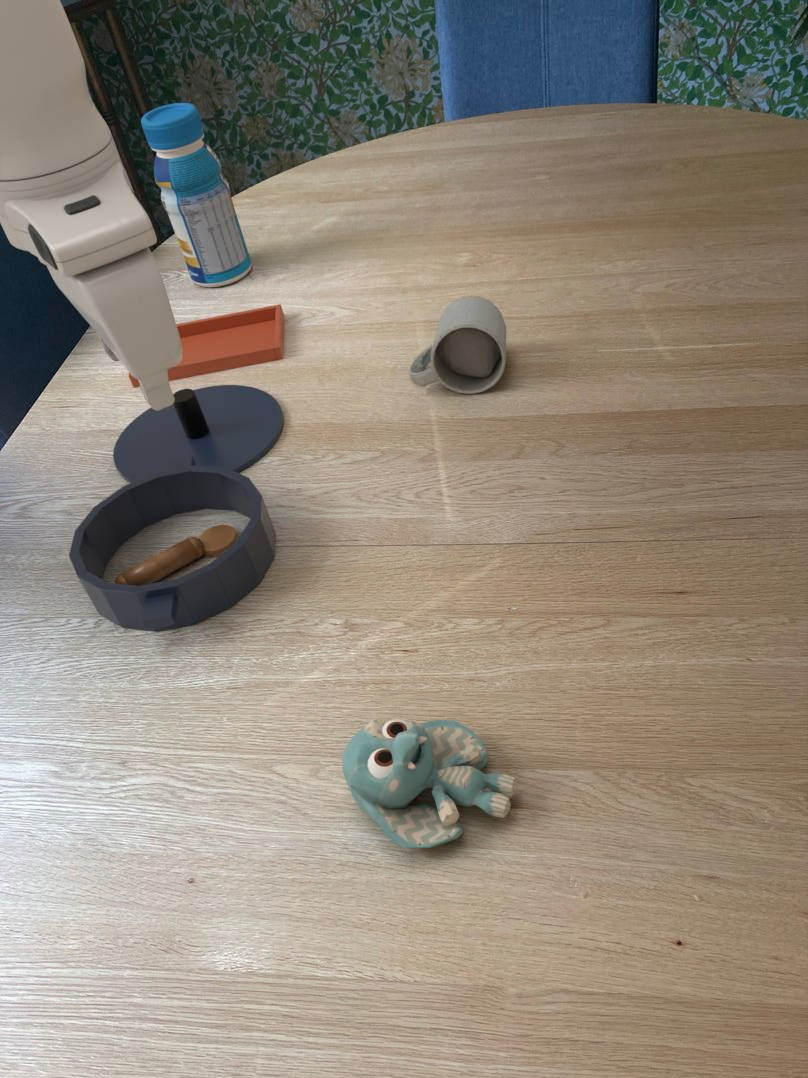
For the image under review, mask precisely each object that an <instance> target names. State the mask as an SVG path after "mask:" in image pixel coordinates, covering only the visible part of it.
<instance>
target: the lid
mask: <svg viewBox="0 0 808 1078" xmlns="http://www.w3.org/2000/svg"><path fill="white" fill-rule="evenodd" d="M173 395H174V398H175V401H174V403H173V404H172V405H171V406H168V407H166V408H164V409H161V410H159V411H156V410H154V409H152V408H151V407H149V408H148V409H146V410H144V411H143V412H142V413H141V414H139V415H137V417H135V418H134V419H133V420H132V421H131V422H129V424H128V425H127V426H126V427H125V428H124V429H123V431H122V432H121V433H120V435H119V436H118V438H117V440H116V441H115V444H114V447H113V453H112V454H113V455H112V458H113V463H114V465H115V466H114V467H115V469H116V470H117V472H118V473H119V475H120V476H121V477H122V478H123V479H124V480H126V482H128V483H129V484H130V483H133V482H135V481H137V480H140V479H142V478H144V477H147V476H149V475H152V474H154V473H156V472H161V471H166V469H167V463H168V460H172V459H177V458H183V457H188V456H193V458H194V461H195V463H196V466H213V467H225V468H227V469H230V470H232V471H234V472H237V473H239V474H240V473H241V472H242V471H244V470H246V469H247V468H249V467H251V466H253V464H256V462H258V461H259V460H261V458H263V457H264V456H265V455H267V453H268V452H270V450H271V449H272V448H273V446H274V445H275V444H276V442H277V441H278V440H279V438H280V436H281V434H282V431H283V429H284V424H285V423H284V422H285V419H284V413H283V409H282V407H281V405H280V403H279V402H278V400H277V399H276V398H275V397H273V395H272V394H269V393H268V392H267V391H264V390H263V389H260V388H258V387H257V388H256V387H253V386H247V385H242V384H241V385H239V384H219V385H211V386H205V387H200V388H195V389H191V388H183V389H179V390H177V391H175V392H174V393H173Z"/></svg>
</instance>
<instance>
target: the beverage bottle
mask: <svg viewBox="0 0 808 1078" xmlns="http://www.w3.org/2000/svg"><path fill="white" fill-rule="evenodd" d="M197 109H198V108H197V107H196V106H195V105H194V104H193V103H189V102H176V103H170V104H165V105H162V106H159V107H155V108H154V109H152V110H150V111H148V112H146V113H145V114H143V116H141V118H140V119H141V120H140V122H141V127H142V130H143V133H144V136H145V138H146V142H147V143H148V147H150V149H151V150H152V151H153V152H156V154H155V159H154V164H153V176H154V177H153V178H154V182H155V183H156V185H157V187H159V188H160V190H161V192H160V200H161V204H162V207H163V209H164V210H165V212H166V213H167V215H168V218H169V221H170V223H171V226H172V229H173V232H174V234H175V237H176V239H177V242H178V246H179V249H180V250H181V253H182V256H183V258H184V261H185V264H186V267H187V271H188V275H189V277H190V279H191V281H192V282H193V283H194V284H195V285H197V286H199V287H201V288H202V287H203V288H218V287H222V286H223V287H224V286H227V285H230V284H233V283H235V282H238V281H240V280H241V279H243V278H244V277H245V276H247V275H248V274H249V272H251V270H252V266H253V265H252V264H253V261H252V258H251V255H250V253H249V251H248V247H247V244H246V241H245V238H244V235H243V231H242V229H241V224H240V222H239V218H238V215H237V212H236V209H235V205H234V203H233V202H234V201H233V198H232V194H231V188H230V184H229V182H228V180H227V178H226V177H225V176H224V175H223V173H222V163H221V161H220V159H219V157H218V155H217V154H216V153H215V151H214V150H213V149H212V148H211V147H210V146H209V145H208V144H207V143H206V142H205V141H204V140H203V139H204V137H205V129H204V126H203V123H202V119H201V115H200V113H199V110H197Z"/></svg>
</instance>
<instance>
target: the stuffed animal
mask: <svg viewBox="0 0 808 1078" xmlns="http://www.w3.org/2000/svg"><path fill="white" fill-rule="evenodd" d="M488 761H489V758H488V753H487V749H486V746H485V745H484V744H483V742H482V741H481V740H480V738H479V737H478V736H477V734H476V733H475V732H474V731H473V730H472V729H470V728H469V727H467V726H465V725H463V724H462V723H460V722H458V721H457V720H455V719H435V720H434V719H433V720H430V721H424V722H420V723H418V722H416V721H413V720H411V719H409V718H407V717H401V716H393V717H383V716H380V717H376V718H373V719H372V720H371V721H369V722H368V723H367V724H366V725H364V726H363V727H362V728H361V729H359V730H358V731H357V732H356V733H355V734H354V735H353V736H352V737H351V738H350V740H348V742H347V744H346V745H345V747H344V748H343V753H342V763H341V767H342V773H343V777H344V780H345V782H346V785H347V786H348V788H349V791H350V794H351V796H352V798H353V800H355V802H356V804H357V806H358V807H359V808H360V809H361V810H362V811H363V812H364V813H365V814H366V815H367V816H368V817H369V818H370V819H371V820H372V821H374V822H375V823H376V824H377V825H378V826H379V828H380V829H381V831H383V832H384V834H385V835H386V836H387V838H388V839H390V840H391V841H393V842H394V843H396V844H398V845H399V846H401V847H402V848H404V849H407V850H408V849H431V848H435V847H438V846H440V845H444V844H446V843H449V842H452V841H454V840H456V839H458V838H459V837H460V836H462V834H463V828H462V826H461V825H460V824H459V823H458V822H457V821H458V820H459V818H460V813H459V811H458V807H457V806H456V805H458V806H461V807H473V806H476V807H478V808H479V809H481V810H483V811H484V812H485V813H486V814H488V815H490V816H492V817H496V818H502V819H504V818H505V817H507V815H508V814H509V812H510V810H511V807H512V804H511V803H512V802H511V800H510V799H511V798H512V797H513V796H514V795H515V793H516V791H517V789H518V784H517V780H516V777H514V776H511V775H509V774H507V773H501V772H496V773H495V772H494V773H484V772H482V771H481V769H483V768H485V767H487V764H488ZM487 788H488V789H489V790H490V791H485V789H487ZM426 789H432V790H431V794H432V797H433V799H434V803H435V806H436V808H435V807H433V806H430V805H428V804H418V805H417V804H416V805H409V804H410V803H411V802H413V801H414V799H416V798H417V797H418V796H419V795H420V794H421V793H422V792H423V791H425V790H426Z"/></svg>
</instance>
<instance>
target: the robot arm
mask: <svg viewBox="0 0 808 1078" xmlns="http://www.w3.org/2000/svg"><path fill="white" fill-rule="evenodd" d="M72 28H73V27H72V25H71V23H70V20H69V18H68V16H67V13H66V11H65V8H64V6H63V4H62V2H61V0H0V226H1V227H2V230H3V231H4V234H5V236H6V238H7V239H8V242H9V244H10V245H11V246H13V247H14V248H15V249H18V250H21V251H25V252H29V253H30V254H32V255H33V256H35V257H37V259H38V261H39V262H40V263H41V264H43V265H45V266H46V267H47V270H48V272H49V274H50V277H51V278H52V280H53V281H54V283H55V285H56V287H57V288H58V289H59V290H60V291H61V293H62V294H63V295H64V296H65V297H66V299H67V300H68V301H69V302H70V304H71V305H72V306H73V307H74V308H75V309H76V310H77V311H78V313H79V314H80V315H81V316H82V318H83V319H84V320H85V321H86V322H87V323H88V325H89V326H90V327H91V328H92V330H94V332H95V333H96V335H97V337H98V339H99V341H100V343H101V346H102V348H103V350H104V352H105V353H106V355H107V356H108V357H109V358H110V359H111V361H113V362H120V363H121V364H122V365H123V366H124V367H125V368H126V370H127V371H128V373H129V372H130V373H131V375H132V376H133V377H134V378H136V379H138V380H139V383H140V384H139V386H140V387H139V388H140V391H141V393H142V395H143V397H144V400H145V401H146V403H147V404H148V406H150V408H152V409H154V410H156V411H159V410H161V409H164V408H166V407H168V406H171V405H172V404H173V403H174V401H175V398H174V395H173V394H174V393H173V391H172V388H171V386H170V385H171V384H170V383H169V382H170V381H168V372H167V370H168V369H170V368H172V367H174V366H176V365H178V364H179V363H180V362H181V360H182V345H181V340H180V336H179V333H178V329H177V326H176V324H177V322H176V318H175V315H174V312H173V308H172V306H171V303H170V299H169V296H168V293H167V290H166V286H165V283H164V279H163V277H162V274H161V271H160V269H159V266H158V263H157V261H156V258H155V257H154V255H153V253H152V250H150V247H152V246H154V245H155V244H157V242H158V241H157V240H158V239H157V235H156V231H155V229H154V226H153V223H152V221H151V219H150V216H149V215H148V213H147V212H146V210H145V208H144V206H143V204H142V203H141V202H140V200H139V199H138V197H137V195H136V194H135V191H134V189H133V186H132V183H131V181H130V178H129V175H128V173H127V171H126V168H125V166H124V164H123V161H122V159H121V156H120V154H119V151H118V148H117V145H116V142H115V139H114V137H113V135H112V131H111V129H110V127H109V126H108V124H107V122H106V120H105V119H104V118H103V116H102V115H101V113H100V111H99V110H98V108H97V107H96V105H95V103H94V102H93V98H92V96H91V93H90V90H89V86H88V80H87V70H86V64H85V60H84V58H83V57H84V56H83V54H82V52H81V48H80V46H79V44H78V41H77V38H76V35H75V33H74V30H73V29H72Z"/></svg>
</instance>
